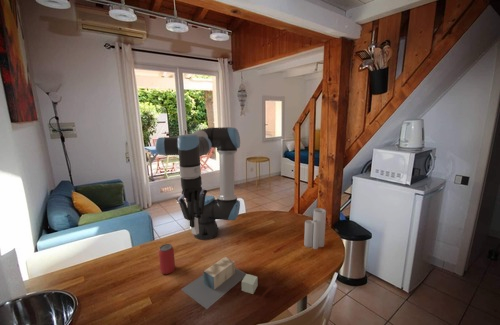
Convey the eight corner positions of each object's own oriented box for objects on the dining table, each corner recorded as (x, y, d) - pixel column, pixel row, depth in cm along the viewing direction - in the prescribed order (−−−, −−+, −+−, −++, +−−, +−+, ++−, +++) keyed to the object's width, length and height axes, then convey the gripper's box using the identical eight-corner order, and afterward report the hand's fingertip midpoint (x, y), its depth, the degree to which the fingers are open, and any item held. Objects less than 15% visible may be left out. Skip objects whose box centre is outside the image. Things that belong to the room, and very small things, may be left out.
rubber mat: (181, 290, 94) (180, 289, 94) (222, 262, 112) (222, 260, 112) (206, 310, 84) (206, 309, 84) (247, 275, 103) (247, 274, 102)
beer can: (178, 267, 109) (176, 244, 106) (169, 276, 103) (166, 252, 100) (166, 264, 111) (164, 242, 109) (157, 273, 105) (154, 249, 102)
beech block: (203, 271, 96) (225, 256, 106) (204, 283, 97) (225, 268, 107) (213, 277, 92) (234, 261, 102) (213, 290, 93) (234, 273, 103)
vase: (318, 239, 132) (320, 207, 128) (327, 246, 125) (329, 212, 121) (302, 243, 127) (303, 210, 124) (310, 250, 121) (311, 215, 117)
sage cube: (241, 292, 93) (241, 281, 92) (246, 283, 98) (246, 273, 97) (253, 295, 91) (252, 284, 90) (257, 287, 96) (257, 276, 95)
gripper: (182, 182, 78) (187, 243, 83) (210, 174, 88) (213, 229, 93) (169, 178, 83) (175, 237, 88) (198, 171, 93) (202, 224, 98)
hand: (195, 233), depth 91 cm, fingers closed
